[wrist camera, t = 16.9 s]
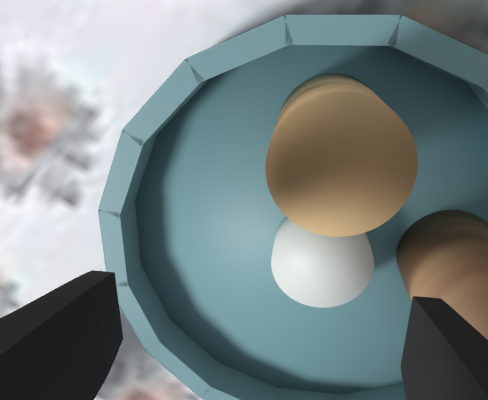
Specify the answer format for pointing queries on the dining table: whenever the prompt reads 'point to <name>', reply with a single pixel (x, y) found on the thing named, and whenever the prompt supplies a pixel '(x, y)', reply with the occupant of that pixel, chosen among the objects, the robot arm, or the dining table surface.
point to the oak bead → (339, 157)
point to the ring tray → (271, 217)
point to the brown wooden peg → (448, 263)
